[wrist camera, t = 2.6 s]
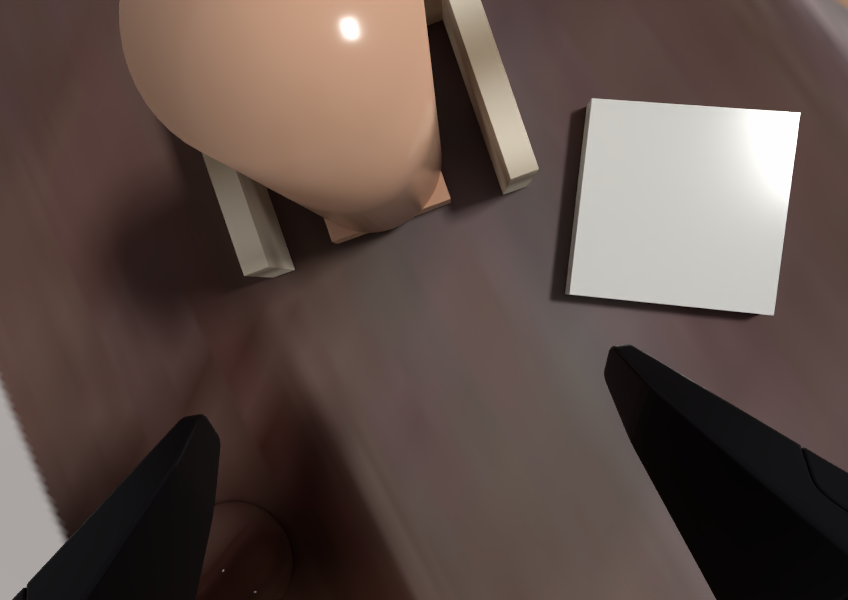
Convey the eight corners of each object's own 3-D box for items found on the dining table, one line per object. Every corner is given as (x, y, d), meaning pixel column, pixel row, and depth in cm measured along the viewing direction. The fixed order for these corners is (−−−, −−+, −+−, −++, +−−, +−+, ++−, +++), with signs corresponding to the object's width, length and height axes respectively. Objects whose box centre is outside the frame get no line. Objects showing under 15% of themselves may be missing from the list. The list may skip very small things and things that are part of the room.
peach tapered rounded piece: (461, 207, 21) (466, 99, 9) (332, 254, 22) (177, 210, 10) (416, 76, 21) (361, -206, 9) (289, 126, 22) (78, -78, 10)
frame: (526, 186, 21) (538, 168, 18) (273, 277, 22) (244, 275, 19) (458, -14, 21) (458, -65, 18) (208, 87, 22) (168, 55, 19)
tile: (761, 314, 20) (773, 315, 19) (565, 293, 21) (569, 294, 20) (786, 119, 20) (800, 112, 19) (586, 105, 20) (591, 98, 20)
